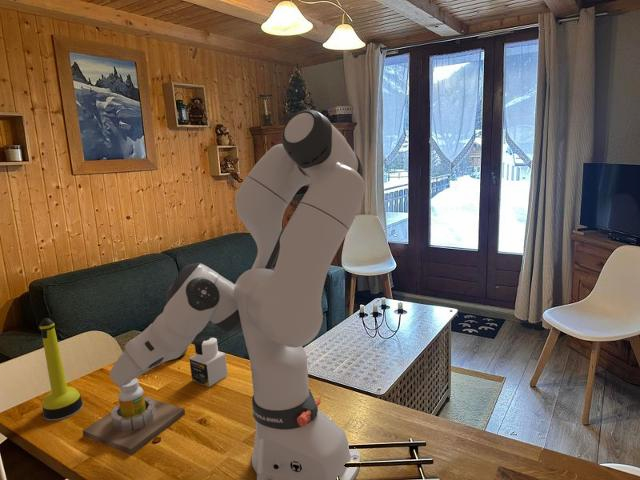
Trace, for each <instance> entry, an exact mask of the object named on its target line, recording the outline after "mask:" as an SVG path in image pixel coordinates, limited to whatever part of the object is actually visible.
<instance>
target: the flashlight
mask: <svg viewBox="0 0 640 480" xmlns="http://www.w3.org/2000/svg"><path fill="white" fill-rule="evenodd" d="M55 328H56V327H55V322H54V321H53V320H52V319H50V318H48V317H45V318H43V319H42V321H41V322H40V324H39V330H40V331H41V338H42V344H43V347H44V348H43V349H44V355H45V361H46V365H47V366H46V367H47V372H48V378H49V383H50V390H51V391H50V392H48V393H46V395H45V396H44V399H43V401H42V415H43V419H45V420H47V421H59V420H60V421H61V420H65V419H67V418H69V417H72V416H74V415H76V414H77V413H79V412H80V411H81V410H82V409H83V407H84V403H83V400H82V397H81V393H80V392H79V391H78V389H76V388H75V387H74V386H68V384H67V380H66V375H65V374H66V373H65V370H64V366H63V361H62V357H61V351H60V346H59V343H58V337H57V334H56V329H55Z"/></svg>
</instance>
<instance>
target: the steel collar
mask: <svg viewBox="0 0 640 480" xmlns="http://www.w3.org/2000/svg"><path fill="white" fill-rule="evenodd" d="M144 400H145V407H146V410H145V411H144V412H142V413H141V414H138V415H135V416H132V417H122V415H121V409H120V403H118V404H116V405H115V406H114V408H113V409H112V411H110V413H111V416H112V422H113V426H114V429H115V430H117V431H120V432H131V431H136V430H138V429H141V428H144V427H146V426H147V425H149V424H150V423H151V422H153V421H154V419H155V417H156V408H155V403H154V401H153V400H154V399H153V398H151V397H147V396H144Z"/></svg>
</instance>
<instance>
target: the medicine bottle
mask: <svg viewBox="0 0 640 480" xmlns="http://www.w3.org/2000/svg"><path fill="white" fill-rule="evenodd" d="M194 350H195V351H194V352H195V354H194V355H192V356H190V357H189V367H190V373H191V374H190V375H191V381H193V382H195V383H197V384H199V385H203V386H206V388H207V387H208V388H210V387H212V386H213V385H215V384H217V383H218V382H220V381H222V380H223V379H224V378H225V379H226V377H228V367H227V360H226V353H225V352H222V351H219V348H218V339H217V337H215V336H211V335H206V336H205V335H204V336H201V337H199V338H197V339H196V340H195V341H194Z"/></svg>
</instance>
